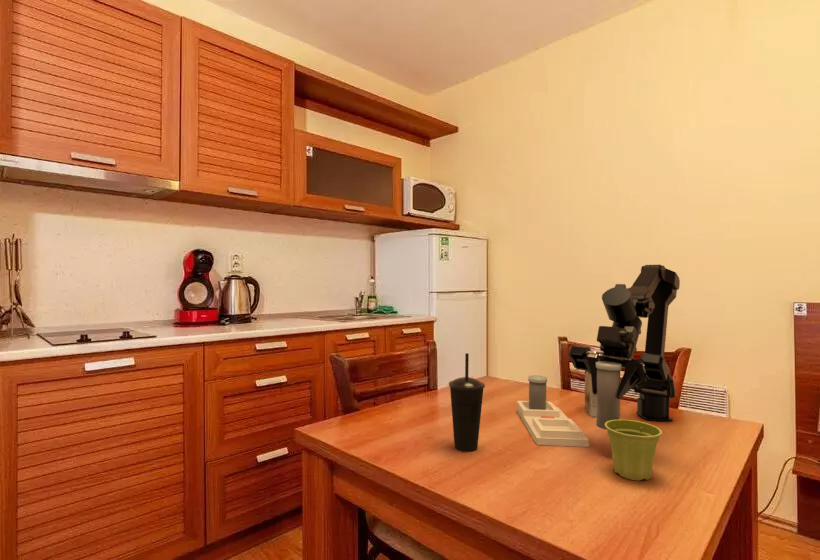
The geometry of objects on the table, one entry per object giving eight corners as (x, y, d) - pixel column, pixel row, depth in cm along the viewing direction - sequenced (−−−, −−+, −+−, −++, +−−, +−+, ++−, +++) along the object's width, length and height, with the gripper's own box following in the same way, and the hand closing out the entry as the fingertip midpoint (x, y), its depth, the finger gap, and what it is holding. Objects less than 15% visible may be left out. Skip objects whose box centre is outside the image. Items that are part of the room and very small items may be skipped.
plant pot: (660, 491, 74) (661, 439, 74) (600, 477, 79) (601, 429, 79) (662, 471, 82) (662, 424, 82) (608, 459, 87) (608, 416, 87)
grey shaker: (615, 422, 91) (615, 361, 92) (624, 430, 87) (625, 365, 87) (591, 422, 92) (592, 360, 92) (600, 429, 87) (600, 365, 87)
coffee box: (583, 407, 124) (584, 351, 124) (607, 408, 122) (608, 352, 123) (590, 417, 115) (590, 356, 115) (616, 418, 113) (616, 357, 114)
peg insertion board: (557, 412, 118) (557, 373, 118) (588, 446, 93) (589, 398, 93) (516, 411, 119) (516, 372, 119) (536, 444, 94) (537, 396, 94)
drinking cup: (486, 443, 95) (487, 352, 95) (480, 456, 87) (481, 357, 88) (452, 439, 97) (453, 349, 97) (444, 451, 90) (445, 355, 90)
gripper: (571, 310, 99) (550, 365, 90) (664, 314, 86) (649, 379, 78) (584, 341, 104) (565, 395, 96) (673, 350, 92) (660, 413, 83)
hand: (605, 395), depth 88 cm, fingers closed on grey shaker, 4 cm apart
